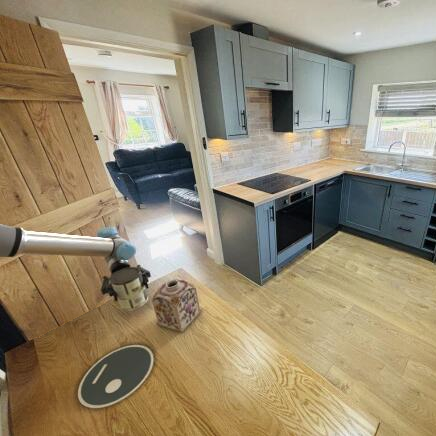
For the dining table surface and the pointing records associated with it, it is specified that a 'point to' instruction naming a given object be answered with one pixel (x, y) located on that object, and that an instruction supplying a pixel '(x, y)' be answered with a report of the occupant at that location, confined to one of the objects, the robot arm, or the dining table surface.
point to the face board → (115, 376)
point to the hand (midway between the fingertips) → (132, 291)
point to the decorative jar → (176, 304)
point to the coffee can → (129, 288)
